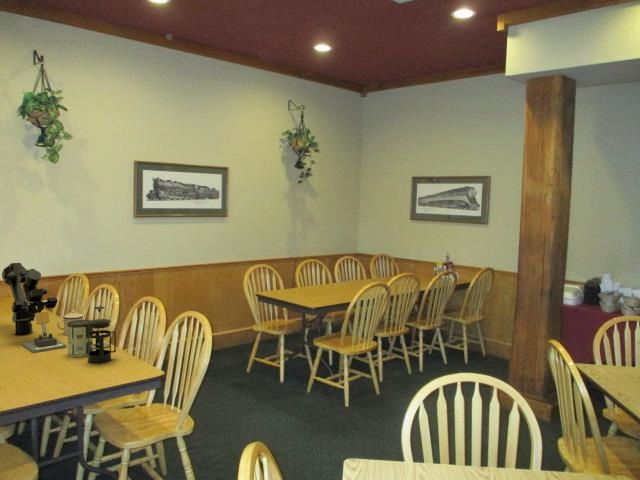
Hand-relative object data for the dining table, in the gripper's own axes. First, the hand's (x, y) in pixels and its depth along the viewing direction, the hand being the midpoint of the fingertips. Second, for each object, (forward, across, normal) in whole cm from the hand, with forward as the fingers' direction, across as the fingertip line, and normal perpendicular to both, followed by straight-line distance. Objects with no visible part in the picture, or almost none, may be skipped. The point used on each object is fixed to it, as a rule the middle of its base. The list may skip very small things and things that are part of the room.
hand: (39, 319), depth 249 cm
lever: (+11, 0, -1) cm, 11 cm away
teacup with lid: (+1, +18, +16) cm, 23 cm away
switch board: (+13, 0, +4) cm, 13 cm away
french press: (+39, +11, -22) cm, 46 cm away
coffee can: (+28, +8, -11) cm, 31 cm away
